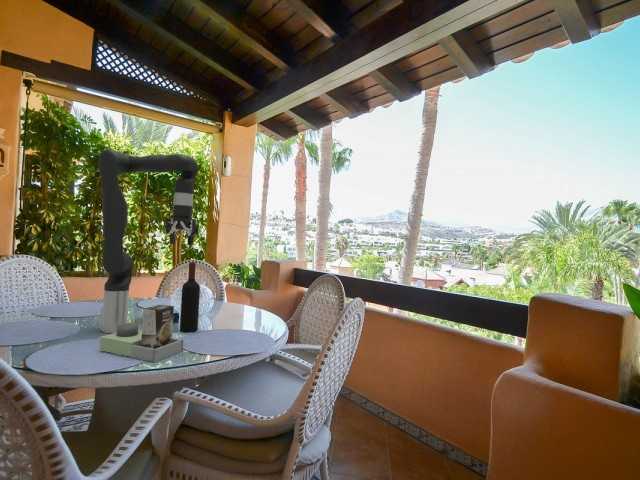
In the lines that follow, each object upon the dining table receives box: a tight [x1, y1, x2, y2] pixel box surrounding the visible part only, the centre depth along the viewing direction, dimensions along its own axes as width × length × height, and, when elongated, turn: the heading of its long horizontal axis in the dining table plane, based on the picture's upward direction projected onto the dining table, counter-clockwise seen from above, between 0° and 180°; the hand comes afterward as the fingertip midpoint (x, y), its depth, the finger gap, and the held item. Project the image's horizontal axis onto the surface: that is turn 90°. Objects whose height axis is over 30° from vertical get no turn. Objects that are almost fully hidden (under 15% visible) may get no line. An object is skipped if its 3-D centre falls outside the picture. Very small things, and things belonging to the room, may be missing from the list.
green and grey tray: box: [99, 323, 184, 363], centre depth 134 cm, size 24×14×8 cm, turn 71°
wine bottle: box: [179, 261, 201, 334], centre depth 165 cm, size 8×8×30 cm
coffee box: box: [141, 304, 175, 349], centre depth 133 cm, size 9×6×16 cm
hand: (180, 244), depth 152 cm, fingers open, 8 cm apart
